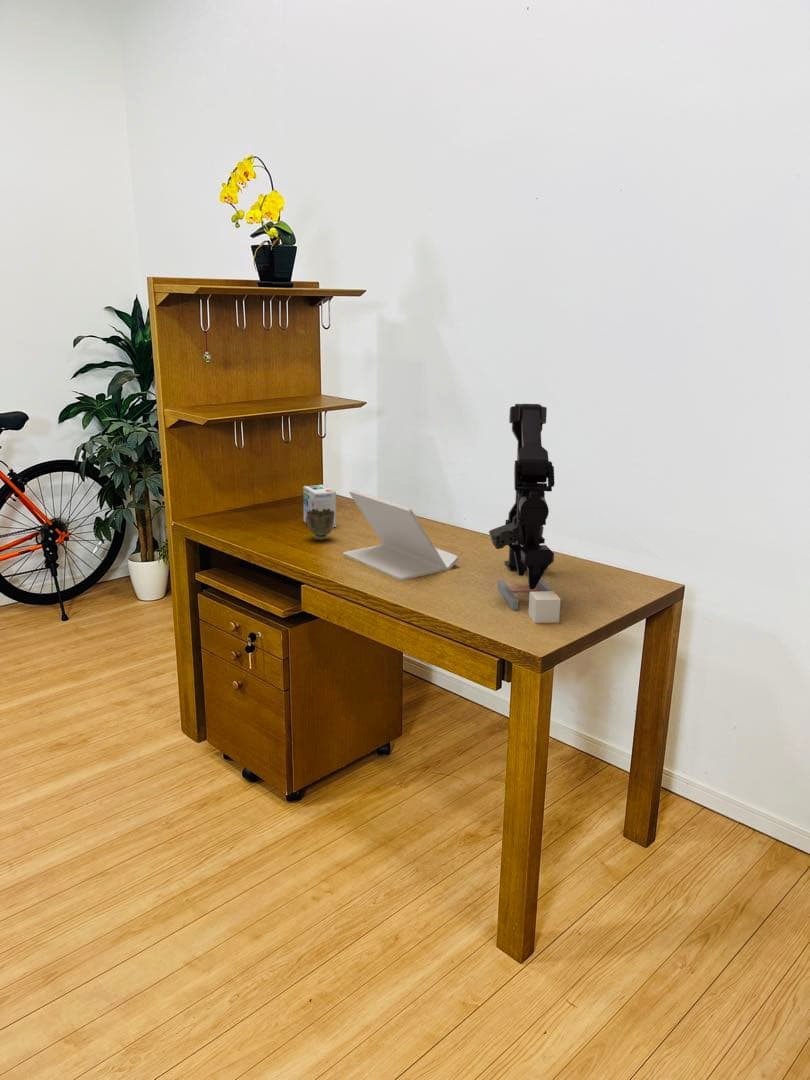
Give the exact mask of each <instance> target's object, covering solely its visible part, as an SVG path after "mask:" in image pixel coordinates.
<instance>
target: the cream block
mask: <svg viewBox="0 0 810 1080" xmlns="http://www.w3.org/2000/svg"><path fill="white" fill-rule="evenodd" d="M555 593H556V592H555V591H554V590H553V591H535V592H529V595H528V596H529V597H528V615H529V617H530V618H531V620H532V621H533V623H534V624H544V623H545V624H547V623H560V612H561V611H560V610H561V608H560V600H561V601H562V599H561V598H560V596H559V595H558V594H557V593H556V594H557V595H558V596H557V595H556V594H555Z"/></svg>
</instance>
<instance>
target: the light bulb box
mask: <svg viewBox="0 0 810 1080" xmlns="http://www.w3.org/2000/svg"><path fill="white" fill-rule="evenodd" d="M302 489H303V491H302V492H303V493H302V494H303V498H302V499H303V522H304V523H305V524H306V523H307V525H308V519H307V511H308V512H309V510H310V511H311V510H312V509H315V510H316V509H318V511H319V512H320V511H321V512H322V511H323V509H326V510H327V509H330V510H331V511H332V510H333V512H335V513H334V522H333V527H336V528H337V490H336V491H335V490H334V489H332V488H331V487H328V486H327V485H325V484H317V485H304V486H302Z"/></svg>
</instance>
